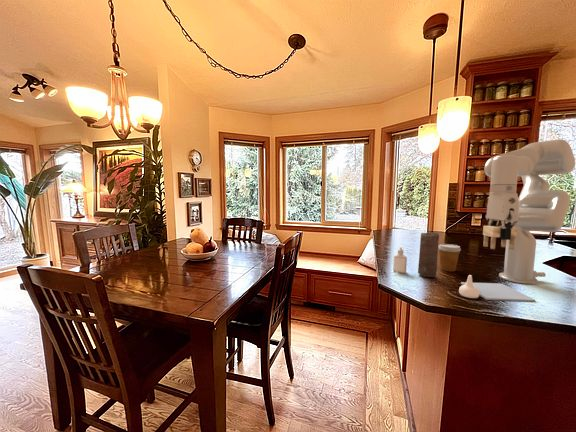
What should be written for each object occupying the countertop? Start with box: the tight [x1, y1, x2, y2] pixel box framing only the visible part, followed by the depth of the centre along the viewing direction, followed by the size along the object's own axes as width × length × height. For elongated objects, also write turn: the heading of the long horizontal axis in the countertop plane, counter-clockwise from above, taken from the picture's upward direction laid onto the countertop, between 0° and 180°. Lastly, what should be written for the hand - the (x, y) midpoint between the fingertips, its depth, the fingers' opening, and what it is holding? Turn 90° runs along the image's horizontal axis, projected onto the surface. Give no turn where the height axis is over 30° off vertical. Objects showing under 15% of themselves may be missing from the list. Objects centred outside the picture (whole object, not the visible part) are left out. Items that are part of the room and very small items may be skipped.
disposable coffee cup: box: [438, 243, 462, 272], centre depth 125 cm, size 10×10×12 cm
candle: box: [417, 232, 440, 278], centre depth 114 cm, size 8×7×20 cm
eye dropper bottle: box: [392, 246, 408, 274], centre depth 121 cm, size 4×6×12 cm
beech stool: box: [482, 225, 517, 250], centre depth 95 cm, size 8×6×8 cm
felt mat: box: [460, 281, 536, 302], centre depth 97 cm, size 16×16×1 cm
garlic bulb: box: [458, 274, 480, 299], centre depth 94 cm, size 6×6×8 cm
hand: (498, 237), depth 95 cm, fingers closed on beech stool, 5 cm apart
